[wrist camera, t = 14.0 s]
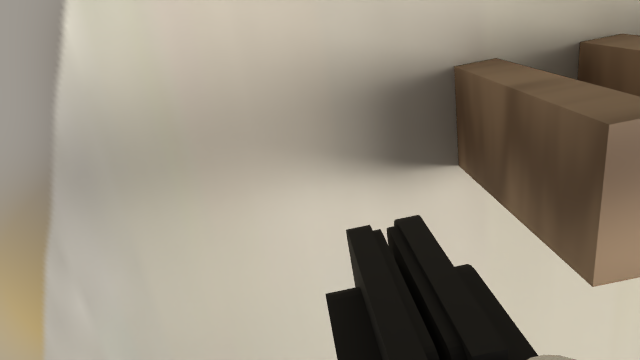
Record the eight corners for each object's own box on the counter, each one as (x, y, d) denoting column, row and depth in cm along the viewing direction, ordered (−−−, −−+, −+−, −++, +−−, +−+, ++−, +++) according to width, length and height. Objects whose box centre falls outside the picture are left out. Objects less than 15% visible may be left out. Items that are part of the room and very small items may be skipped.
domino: (496, 157, 22) (658, 273, 13) (458, 165, 22) (592, 286, 13) (496, 58, 20) (686, 109, 11) (454, 66, 20) (609, 125, 11)
